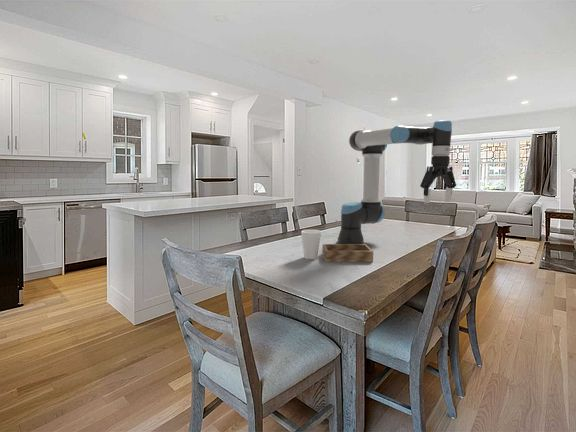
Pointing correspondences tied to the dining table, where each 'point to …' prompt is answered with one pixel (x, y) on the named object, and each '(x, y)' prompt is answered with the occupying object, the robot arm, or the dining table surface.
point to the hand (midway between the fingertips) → (437, 202)
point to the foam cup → (311, 243)
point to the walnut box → (347, 253)
